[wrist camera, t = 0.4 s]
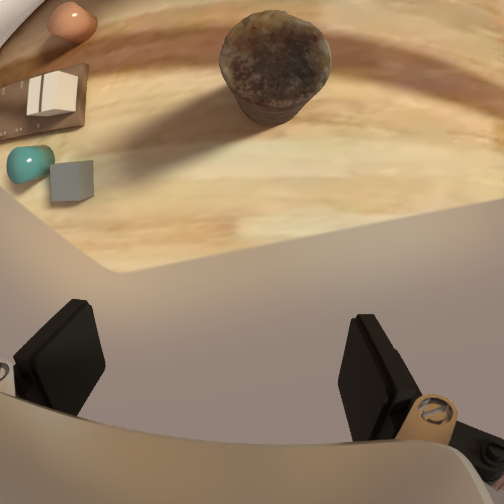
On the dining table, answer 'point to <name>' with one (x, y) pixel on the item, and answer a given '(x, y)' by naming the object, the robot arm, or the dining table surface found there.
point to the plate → (14, 15)
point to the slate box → (71, 181)
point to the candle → (274, 65)
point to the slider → (52, 94)
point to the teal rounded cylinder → (29, 163)
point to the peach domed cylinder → (72, 23)
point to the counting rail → (20, 124)
